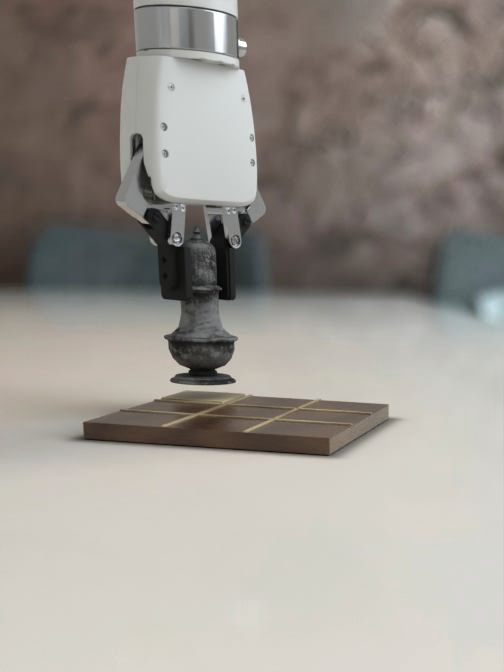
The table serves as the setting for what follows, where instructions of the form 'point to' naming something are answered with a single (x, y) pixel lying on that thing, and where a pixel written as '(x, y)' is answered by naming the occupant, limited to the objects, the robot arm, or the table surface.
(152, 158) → the robot arm
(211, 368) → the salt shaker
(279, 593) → the table surface
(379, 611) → the table surface
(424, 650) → the table surface
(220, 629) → the table surface
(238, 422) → the board
